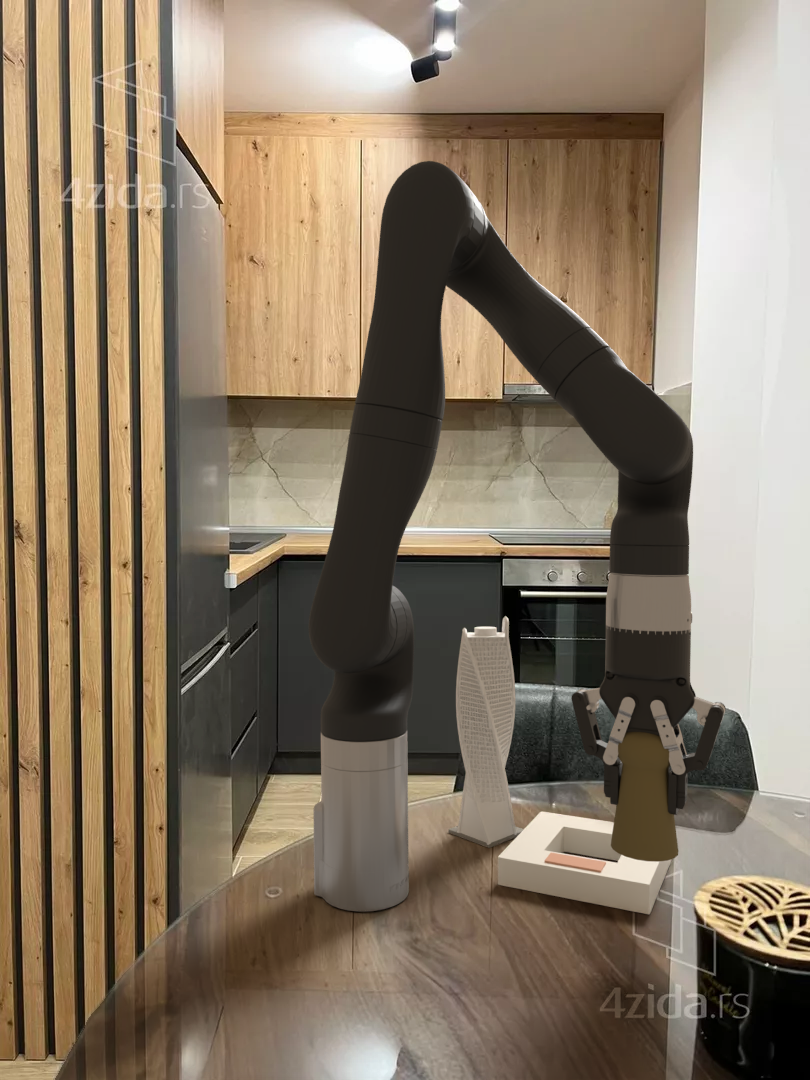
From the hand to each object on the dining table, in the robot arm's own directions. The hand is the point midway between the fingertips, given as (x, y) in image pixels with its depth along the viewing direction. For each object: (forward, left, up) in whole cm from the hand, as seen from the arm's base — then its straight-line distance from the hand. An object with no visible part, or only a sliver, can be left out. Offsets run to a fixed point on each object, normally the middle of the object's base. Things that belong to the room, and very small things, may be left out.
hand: (644, 806), depth 74 cm
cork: (0, 0, -4) cm, 4 cm away
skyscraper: (-23, +19, -13) cm, 32 cm away
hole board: (-9, +14, -13) cm, 21 cm away
